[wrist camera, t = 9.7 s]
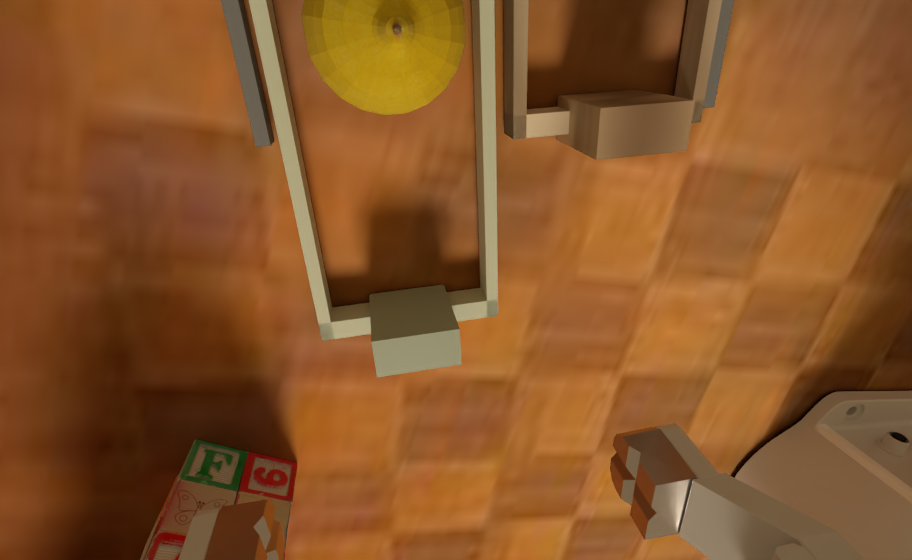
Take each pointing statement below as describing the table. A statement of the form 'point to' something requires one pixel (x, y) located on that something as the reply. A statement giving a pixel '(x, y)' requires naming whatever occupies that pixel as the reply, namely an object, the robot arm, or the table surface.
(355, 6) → the fruit
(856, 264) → the table surface
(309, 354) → the table surface
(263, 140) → the lane guides
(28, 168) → the table surface
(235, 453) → the stack of blocks
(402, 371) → the frame
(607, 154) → the frame
